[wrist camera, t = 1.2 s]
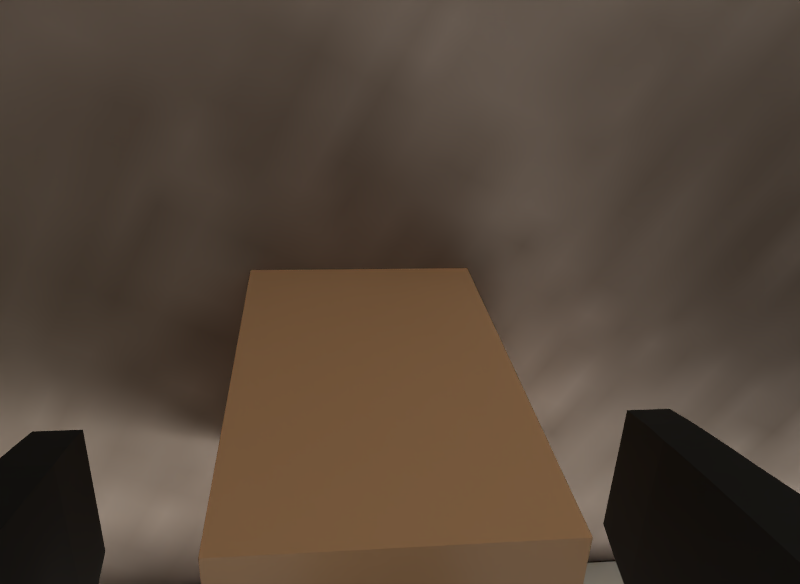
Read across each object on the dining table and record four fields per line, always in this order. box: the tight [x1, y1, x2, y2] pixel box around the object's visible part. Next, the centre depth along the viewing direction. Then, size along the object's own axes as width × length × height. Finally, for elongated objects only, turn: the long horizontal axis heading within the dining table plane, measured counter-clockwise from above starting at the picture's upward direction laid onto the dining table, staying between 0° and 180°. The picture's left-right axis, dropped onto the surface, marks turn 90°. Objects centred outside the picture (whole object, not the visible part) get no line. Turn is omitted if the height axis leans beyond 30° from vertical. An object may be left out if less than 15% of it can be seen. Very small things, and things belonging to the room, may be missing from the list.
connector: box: [198, 268, 593, 584], centre depth 9 cm, size 4×4×8 cm
